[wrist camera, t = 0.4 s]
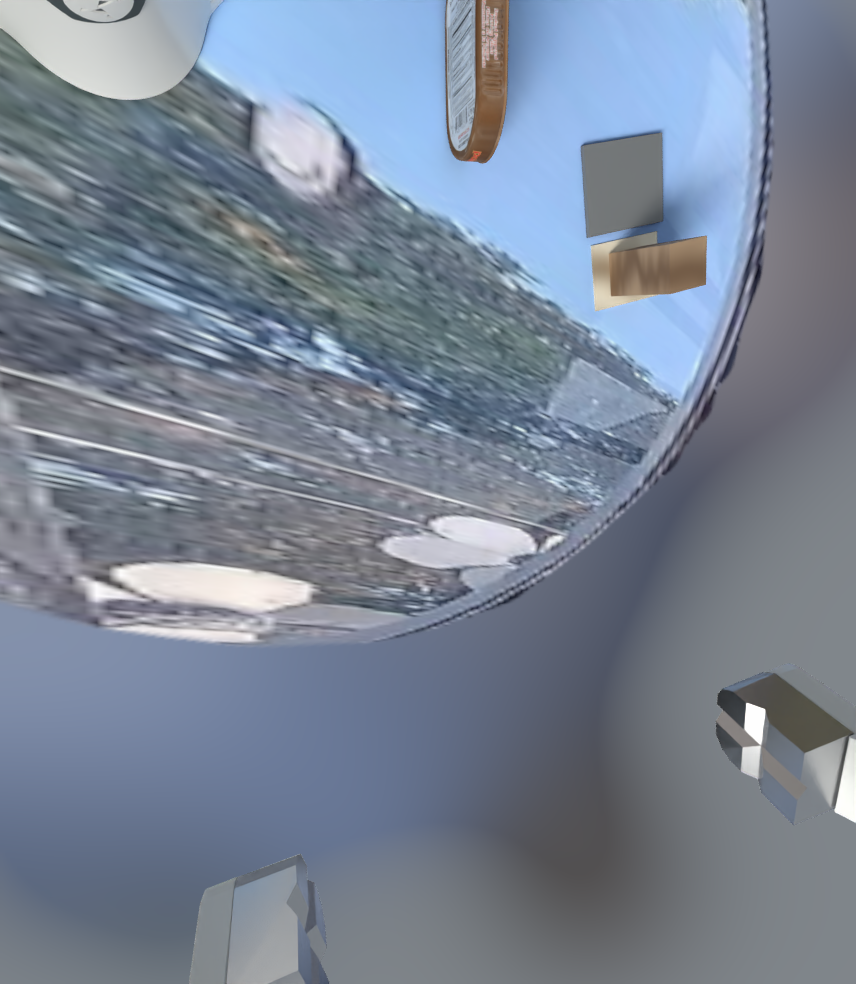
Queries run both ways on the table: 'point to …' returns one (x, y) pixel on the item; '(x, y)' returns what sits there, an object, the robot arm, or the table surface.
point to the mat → (622, 183)
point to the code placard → (603, 271)
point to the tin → (476, 76)
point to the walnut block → (659, 268)
